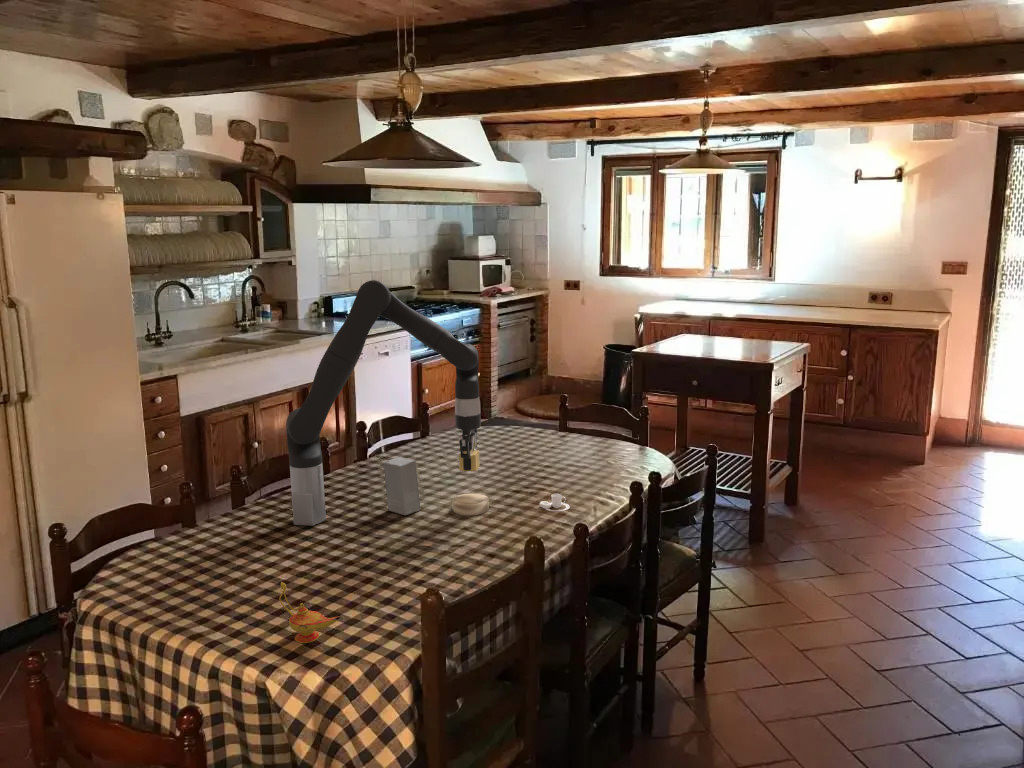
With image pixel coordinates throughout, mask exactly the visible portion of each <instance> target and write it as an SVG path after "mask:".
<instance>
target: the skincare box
mask: <svg viewBox="0 0 1024 768" xmlns="http://www.w3.org/2000/svg"><path fill="white" fill-rule="evenodd" d="M416 462H417V461H416V460H413V459H409V458H406V457H405V458H404V457H401V456H397V457H395V458H392V459H391V458H390V459H389V460H386V461H383V463H382V464H383V472H384V473H383V475H384V482H385V490H386V491H385V492H386V500H387V501H386V502H387V510H388V511H389V512H392V513H396V514H400V515H403V516H408V515H411V514H413V513H416V512H419V511H421V501H420V491H419V481H418V471H417V463H416Z"/></svg>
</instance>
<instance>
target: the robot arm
mask: <svg viewBox="0 0 1024 768" xmlns="http://www.w3.org/2000/svg"><path fill="white" fill-rule="evenodd" d="M379 317H382V318H385V319H386V320H388V321H391V322H392V323H394V324H395V325H397V326H398V327H400V328H402V329H403V330H404V331H405V332H407V333H408V334H410V335H411V336H412V337H414V339H416V340H417V341H418V342H420V343H422V344H423V345H425V346H426V347H428V348H429V349H431V350H432V351H434V352H436V353H438V354H439V355H440V356H442V357H443V358H444V359H445V360H446V361H448V363H450V364H451V365H453V367H455V383H454V387H455V388H454V389H455V390H454V393H455V400H454V419H455V420H454V421H455V428H456V429H458V430H461V432H462V433H461V434H460V439H459V451H460V453H461V458H463V468H464V470H471V451H472V450H477V448H478V444H477V443H478V429H480V428H481V426H482V420H481V419H482V417H481V400H480V384H479V382H480V381H479V361H480V360H479V357H480V356H479V351H478V349H477V348H476V347H475V346H474V345H473V344H470V343H463V342H462V341H460V340H459V339H457V338H456V337H455V336H454V335H453V334H452V333H451V332H450V331H449V330H447V329H446V328H445V327H443V326H442V325H440V324H439V323H437V322H435V321H433V320H432V319H430V318H429V317H427V316H425V315H423V314H421V313H420V312H418V311H416V310H414V309H412V308H411V307H410V306H408V305H407V304H406V303H404V302H403V301H401V300H400V299H399V298H398V297H396V295H395V294H394V293H392V292H391V291H390V289H389V288H388V287H387V285H386V284H384V283H383V282H382V281H380V280H376V279H372V280H367V281H365V282H364V283H363V284H361V285H360V287H359V288H358V291H357V293H356V295H355V299H354V301H353V303H352V306H351V308H350V310H349V313H348V315H347V317H346V319H345V320H344V322H343V324H341V327H340V328H339V330H338V331H337V332H336V334H335V335H334V337H333V339H332V340H331V342H330V344H329V345H328V347H327V349H326V350H325V352H324V354H323V355H322V358H321V359H320V361H319V364H318V366H317V368H316V372H315V374H314V378H313V381H312V384H311V387H310V390H309V392H308V394H307V396H306V399H305V400H304V401H303V403H302V405H301V406H300V407H299V408H298V407H297V408H295V409H293V410H292V411H290V413H289V414H288V415H287V418H286V422H285V425H286V426H285V428H286V430H285V431H286V438H287V439H286V441H287V453H288V459H289V471H290V472H289V474H290V486H291V487H290V488H291V489H290V490H291V501H292V502H291V507H292V519H293V525H295V526H311V527H312V526H315V525H316V524H321V523H322V522H324V521H325V520H326V519H327V515H326V514H327V513H326V497H325V484H324V469H323V468H324V467H323V466H324V465H323V464H324V463H323V454H322V452H323V451H322V448H321V436H320V435H321V432H322V431H323V428H324V424H325V422H326V419H327V418H328V415H329V413H330V410H331V408H332V406H333V405H334V402H335V401H336V399H337V398H338V396H339V395H340V393H341V391H342V390H343V388H344V386H345V385H346V383H347V381H348V380H349V378H350V376H351V374H352V373H353V371H354V370H355V367H356V365H357V363H358V362H359V360H360V357H361V355H362V353H363V349H364V346H365V344H366V341H367V337H368V335H369V333H370V331H371V329H372V327H373V326H374V324H375V323H376V321H377V319H378V318H379ZM465 451H466V452H467V454H465ZM460 453H459V454H460Z"/></svg>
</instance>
